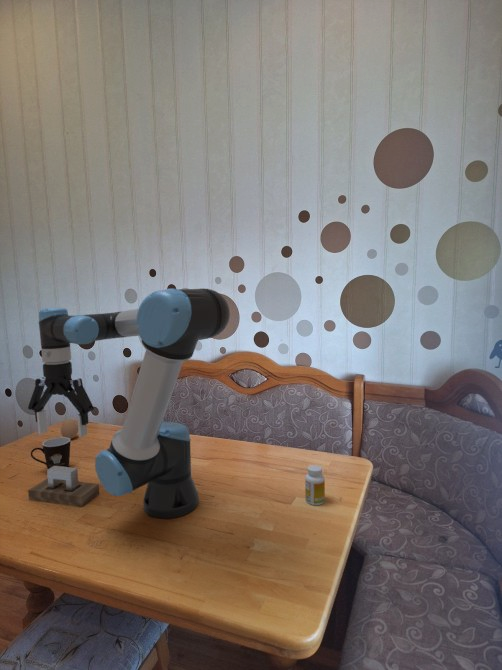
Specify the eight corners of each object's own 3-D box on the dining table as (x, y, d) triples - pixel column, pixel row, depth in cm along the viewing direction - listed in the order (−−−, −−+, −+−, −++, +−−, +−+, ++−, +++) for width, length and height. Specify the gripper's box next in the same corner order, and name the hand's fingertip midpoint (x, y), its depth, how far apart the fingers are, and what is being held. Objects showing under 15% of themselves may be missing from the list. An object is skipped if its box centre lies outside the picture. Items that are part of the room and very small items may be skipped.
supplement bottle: (327, 498, 120) (327, 465, 119) (321, 507, 116) (321, 473, 115) (309, 494, 123) (308, 462, 122) (302, 503, 118) (302, 470, 117)
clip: (79, 495, 125) (77, 468, 124) (72, 500, 122) (70, 472, 121) (56, 492, 127) (54, 465, 126) (49, 497, 124) (47, 469, 123)
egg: (77, 435, 177) (76, 416, 176) (79, 439, 172) (78, 420, 171) (60, 438, 174) (59, 418, 173) (62, 442, 168) (60, 422, 168)
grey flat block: (99, 493, 126) (98, 483, 126) (82, 507, 118) (81, 496, 118) (48, 487, 131) (47, 477, 130) (28, 499, 123) (27, 490, 123)
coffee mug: (77, 465, 147) (75, 437, 146) (63, 476, 138) (61, 446, 137) (45, 464, 148) (43, 436, 147) (30, 475, 139) (28, 446, 138)
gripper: (10, 363, 120) (16, 436, 122) (87, 365, 114) (92, 441, 116) (30, 359, 127) (36, 427, 129) (103, 360, 121) (108, 432, 123)
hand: (62, 434), depth 123 cm, fingers open, 13 cm apart
